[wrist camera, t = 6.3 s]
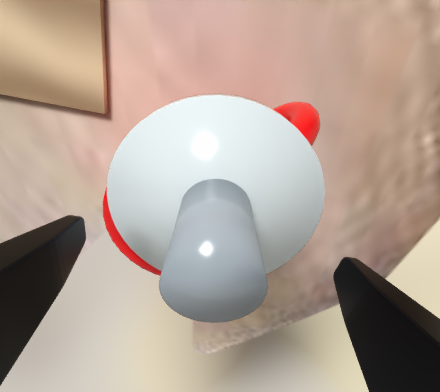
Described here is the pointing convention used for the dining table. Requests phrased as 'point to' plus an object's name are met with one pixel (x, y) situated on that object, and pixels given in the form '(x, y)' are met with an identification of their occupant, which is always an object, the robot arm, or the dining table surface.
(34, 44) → the mat
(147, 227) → the lid
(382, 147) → the dining table surface
